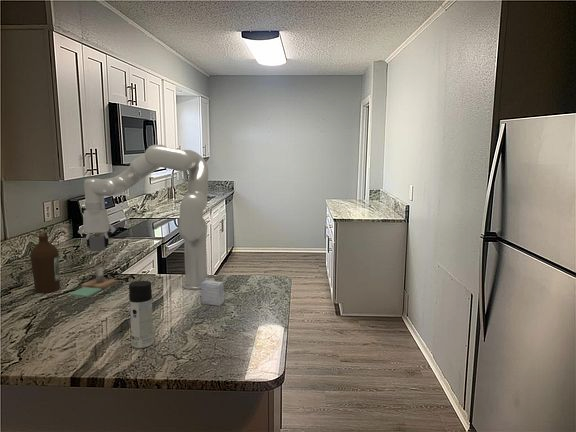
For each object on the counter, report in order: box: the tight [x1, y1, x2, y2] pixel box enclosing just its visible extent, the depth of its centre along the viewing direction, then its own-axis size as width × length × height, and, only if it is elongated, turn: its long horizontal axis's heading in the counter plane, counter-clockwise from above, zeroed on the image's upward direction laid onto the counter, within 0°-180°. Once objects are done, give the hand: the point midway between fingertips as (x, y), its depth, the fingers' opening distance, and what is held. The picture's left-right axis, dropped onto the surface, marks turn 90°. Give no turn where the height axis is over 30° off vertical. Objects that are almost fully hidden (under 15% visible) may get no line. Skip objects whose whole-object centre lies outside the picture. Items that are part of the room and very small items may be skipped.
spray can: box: [128, 280, 154, 350], centre depth 136 cm, size 7×7×20 cm
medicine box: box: [200, 280, 225, 307], centre depth 173 cm, size 8×4×9 cm, turn 71°
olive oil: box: [30, 231, 61, 294], centre depth 186 cm, size 11×11×25 cm
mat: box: [68, 287, 103, 298], centre depth 185 cm, size 9×9×1 cm
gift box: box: [89, 233, 107, 252], centre depth 192 cm, size 6×6×7 cm
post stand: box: [80, 265, 120, 290], centre depth 195 cm, size 12×10×8 cm
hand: (98, 246), depth 193 cm, fingers closed on gift box, 6 cm apart
